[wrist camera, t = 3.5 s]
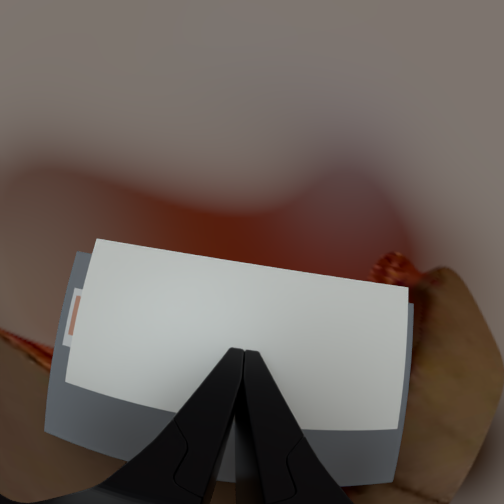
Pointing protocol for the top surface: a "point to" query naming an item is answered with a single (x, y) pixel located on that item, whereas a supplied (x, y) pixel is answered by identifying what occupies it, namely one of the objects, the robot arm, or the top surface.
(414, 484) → the top surface
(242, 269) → the block
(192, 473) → the robot arm
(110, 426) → the plate
